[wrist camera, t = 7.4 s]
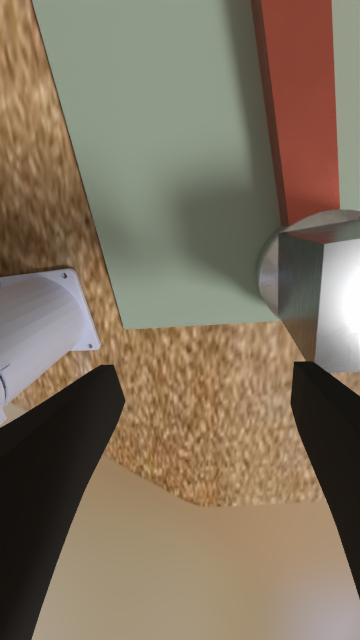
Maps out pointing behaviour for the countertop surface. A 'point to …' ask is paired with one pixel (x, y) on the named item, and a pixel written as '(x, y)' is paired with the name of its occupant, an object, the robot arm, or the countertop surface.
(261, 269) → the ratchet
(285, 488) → the countertop surface
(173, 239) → the mat
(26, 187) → the countertop surface
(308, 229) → the brushed grey square block
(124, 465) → the countertop surface
